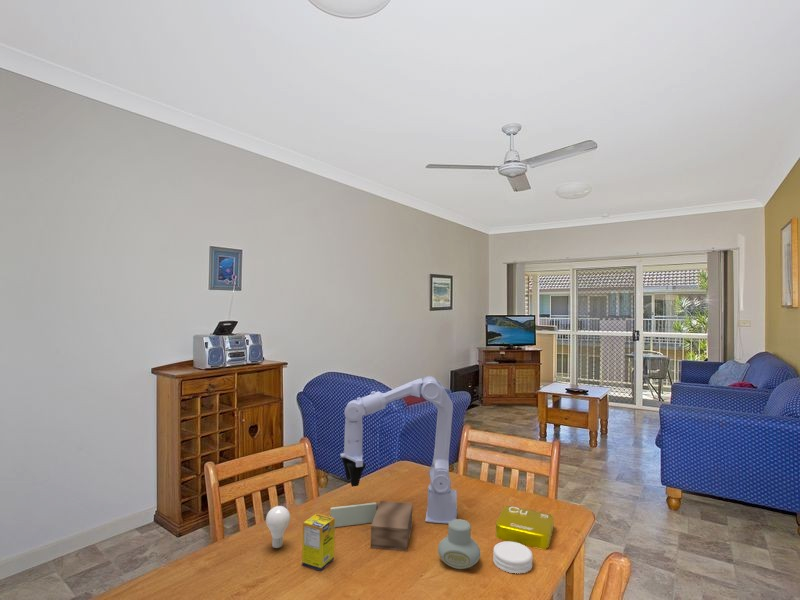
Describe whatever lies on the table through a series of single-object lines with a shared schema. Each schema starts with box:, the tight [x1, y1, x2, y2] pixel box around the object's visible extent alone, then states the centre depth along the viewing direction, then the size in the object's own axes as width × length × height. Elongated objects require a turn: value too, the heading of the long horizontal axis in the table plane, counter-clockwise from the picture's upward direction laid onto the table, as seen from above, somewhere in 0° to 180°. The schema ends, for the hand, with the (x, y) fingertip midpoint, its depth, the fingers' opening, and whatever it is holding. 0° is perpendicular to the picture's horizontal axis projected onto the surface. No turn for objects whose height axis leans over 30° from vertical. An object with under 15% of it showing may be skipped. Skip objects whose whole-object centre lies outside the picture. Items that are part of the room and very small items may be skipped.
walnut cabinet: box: [370, 500, 413, 552], centre depth 130 cm, size 10×16×6 cm, turn 173°
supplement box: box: [301, 513, 336, 572], centre depth 115 cm, size 6×6×11 cm
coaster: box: [492, 541, 533, 575], centre depth 117 cm, size 10×10×4 cm
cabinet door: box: [329, 502, 379, 528], centre depth 136 cm, size 2×15×6 cm, turn 108°
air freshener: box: [437, 518, 481, 570], centre depth 117 cm, size 11×8×10 cm
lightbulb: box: [265, 505, 291, 549], centre depth 122 cm, size 6×6×11 cm
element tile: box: [495, 505, 554, 550], centre depth 133 cm, size 15×15×5 cm
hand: (352, 482), depth 141 cm, fingers open, 5 cm apart
